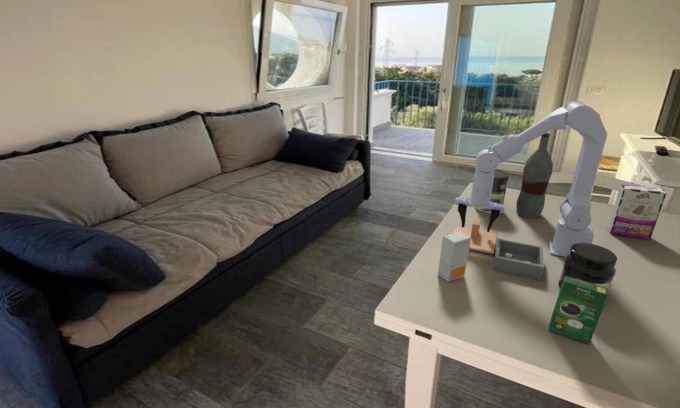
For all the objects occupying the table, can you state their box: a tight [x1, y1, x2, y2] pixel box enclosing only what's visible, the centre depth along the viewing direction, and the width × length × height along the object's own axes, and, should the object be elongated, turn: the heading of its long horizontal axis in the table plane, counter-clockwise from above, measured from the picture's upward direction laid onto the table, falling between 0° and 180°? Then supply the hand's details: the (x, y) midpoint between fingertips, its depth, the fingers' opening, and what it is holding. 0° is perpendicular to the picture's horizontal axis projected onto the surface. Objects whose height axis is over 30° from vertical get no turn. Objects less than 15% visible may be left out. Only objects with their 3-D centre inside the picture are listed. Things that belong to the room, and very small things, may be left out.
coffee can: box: [475, 169, 510, 214], centre depth 141 cm, size 10×10×14 cm
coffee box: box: [548, 276, 609, 345], centre depth 78 cm, size 8×3×13 cm, turn 57°
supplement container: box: [557, 243, 618, 292], centre depth 92 cm, size 10×10×12 cm
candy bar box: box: [607, 183, 667, 241], centre depth 121 cm, size 11×5×16 cm, turn 68°
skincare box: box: [437, 232, 471, 283], centre depth 99 cm, size 6×4×12 cm
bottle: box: [515, 132, 554, 219], centre depth 133 cm, size 9×9×30 cm
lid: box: [452, 217, 497, 255], centre depth 118 cm, size 13×13×6 cm
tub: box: [492, 238, 545, 281], centre depth 106 cm, size 12×12×4 cm
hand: (475, 228), depth 120 cm, fingers open, 7 cm apart
